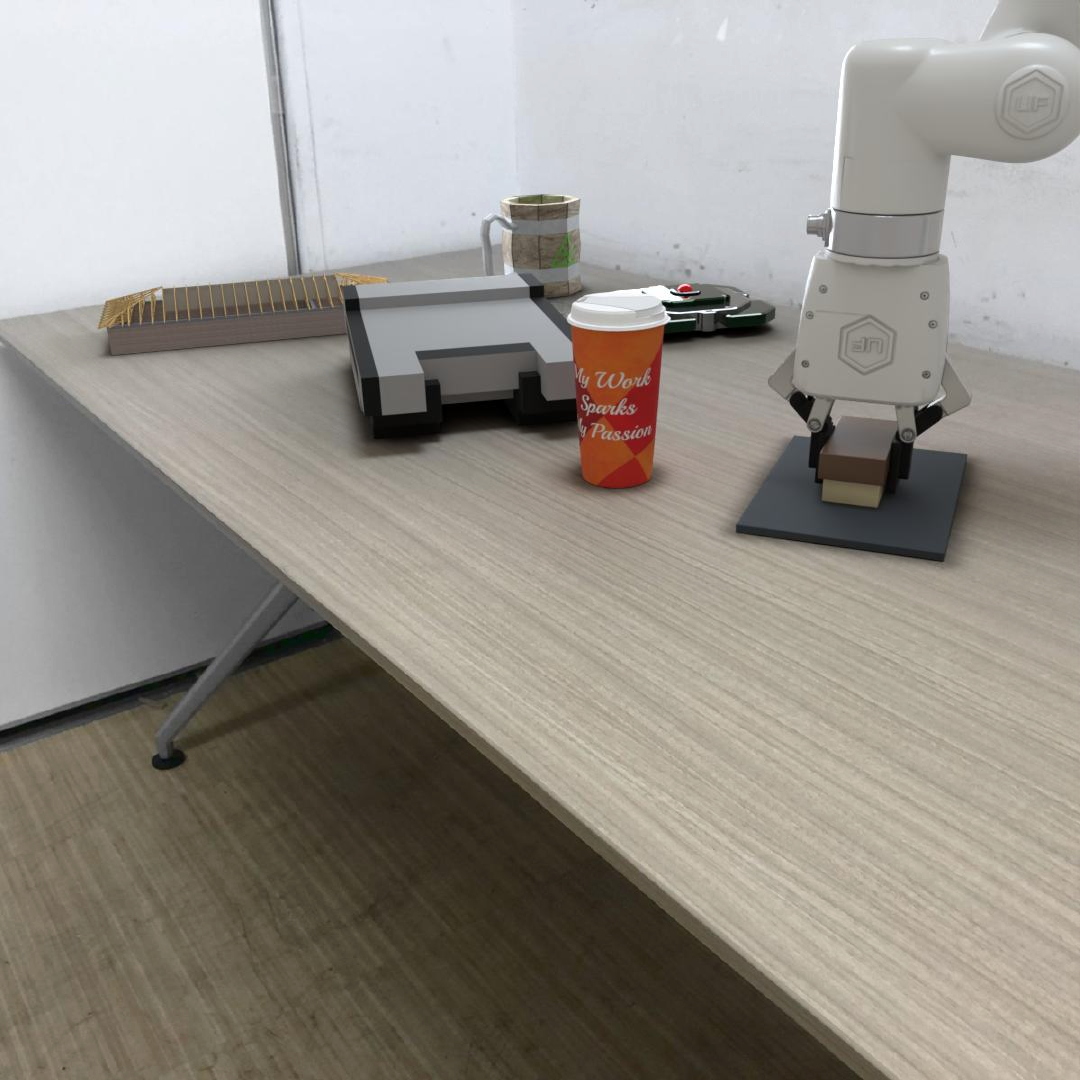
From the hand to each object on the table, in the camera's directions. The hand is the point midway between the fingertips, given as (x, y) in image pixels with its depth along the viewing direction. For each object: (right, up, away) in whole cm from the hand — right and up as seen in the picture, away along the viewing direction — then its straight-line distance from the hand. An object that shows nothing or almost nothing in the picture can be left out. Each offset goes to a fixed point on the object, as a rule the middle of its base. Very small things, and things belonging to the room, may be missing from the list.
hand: (857, 479), depth 84 cm
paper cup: (-18, +1, +5) cm, 19 cm away
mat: (0, -1, 0) cm, 1 cm away
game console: (-32, +10, +26) cm, 42 cm away
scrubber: (0, 0, 0) cm, 1 cm away
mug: (-25, +29, +68) cm, 78 cm away
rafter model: (-59, +21, +53) cm, 82 cm away
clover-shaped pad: (-7, +22, +51) cm, 55 cm away
